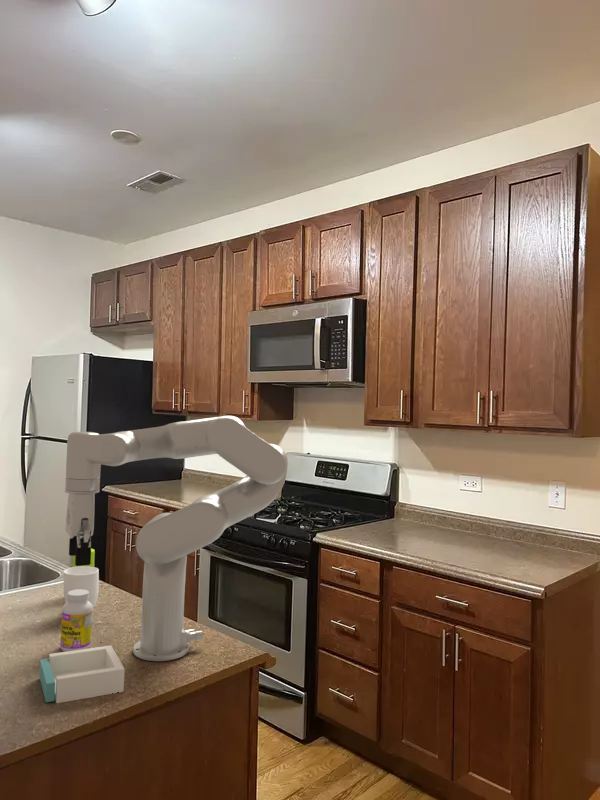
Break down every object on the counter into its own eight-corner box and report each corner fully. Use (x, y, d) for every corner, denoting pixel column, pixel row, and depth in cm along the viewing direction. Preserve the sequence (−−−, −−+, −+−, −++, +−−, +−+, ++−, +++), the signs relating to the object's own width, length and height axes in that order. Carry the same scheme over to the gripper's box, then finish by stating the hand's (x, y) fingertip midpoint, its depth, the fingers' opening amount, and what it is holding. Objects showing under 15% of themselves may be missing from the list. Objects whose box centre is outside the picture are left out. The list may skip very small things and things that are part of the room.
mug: (99, 618, 164) (99, 573, 164) (62, 622, 161) (63, 575, 161) (97, 604, 175) (97, 561, 175) (63, 607, 172) (63, 564, 172)
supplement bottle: (53, 651, 143) (56, 594, 143) (71, 641, 149) (73, 586, 149) (80, 655, 141) (82, 598, 141) (96, 644, 147) (98, 589, 147)
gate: (47, 675, 129) (47, 658, 130) (54, 700, 119) (55, 682, 119) (39, 676, 129) (40, 659, 129) (45, 702, 118) (46, 683, 118)
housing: (110, 666, 136) (111, 645, 136) (123, 691, 124) (124, 668, 124) (48, 675, 130) (49, 653, 130) (56, 703, 119) (57, 679, 119)
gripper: (60, 481, 151) (57, 552, 151) (71, 491, 136) (67, 570, 136) (92, 480, 155) (89, 550, 154) (106, 490, 139) (103, 568, 139)
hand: (79, 559), depth 145 cm, fingers open, 9 cm apart
